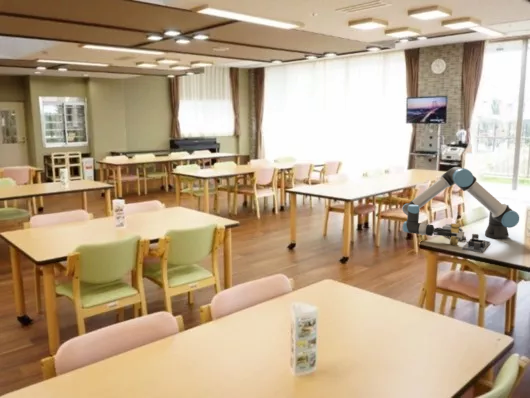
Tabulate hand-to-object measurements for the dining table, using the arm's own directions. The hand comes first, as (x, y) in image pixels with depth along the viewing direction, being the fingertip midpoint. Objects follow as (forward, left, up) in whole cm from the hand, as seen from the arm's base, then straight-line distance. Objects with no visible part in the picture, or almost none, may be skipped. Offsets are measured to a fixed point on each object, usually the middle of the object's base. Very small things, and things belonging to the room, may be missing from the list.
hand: (463, 234), depth 314 cm
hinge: (0, -24, -8) cm, 25 cm away
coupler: (+5, -2, -8) cm, 9 cm away
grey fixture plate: (-9, -1, -8) cm, 12 cm away
